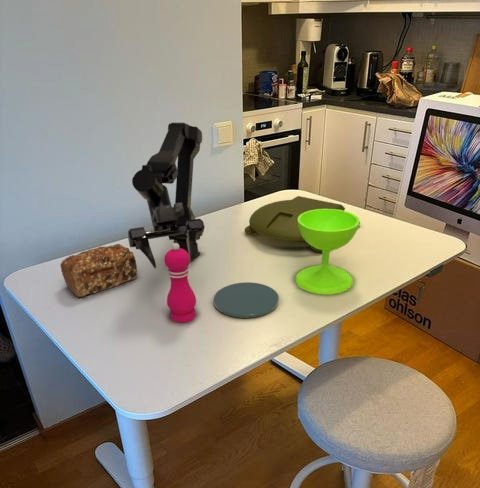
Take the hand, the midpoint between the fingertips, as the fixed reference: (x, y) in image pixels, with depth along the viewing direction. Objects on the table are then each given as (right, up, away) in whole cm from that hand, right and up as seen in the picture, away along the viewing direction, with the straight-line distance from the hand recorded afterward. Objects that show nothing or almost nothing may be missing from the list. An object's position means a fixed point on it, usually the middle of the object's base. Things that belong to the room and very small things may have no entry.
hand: (173, 264), depth 122 cm
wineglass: (+40, -3, +17) cm, 43 cm away
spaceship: (+36, +16, +45) cm, 60 cm away
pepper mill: (+2, -13, +3) cm, 13 cm away
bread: (-23, -3, +19) cm, 30 cm away
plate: (+18, -9, +8) cm, 22 cm away
